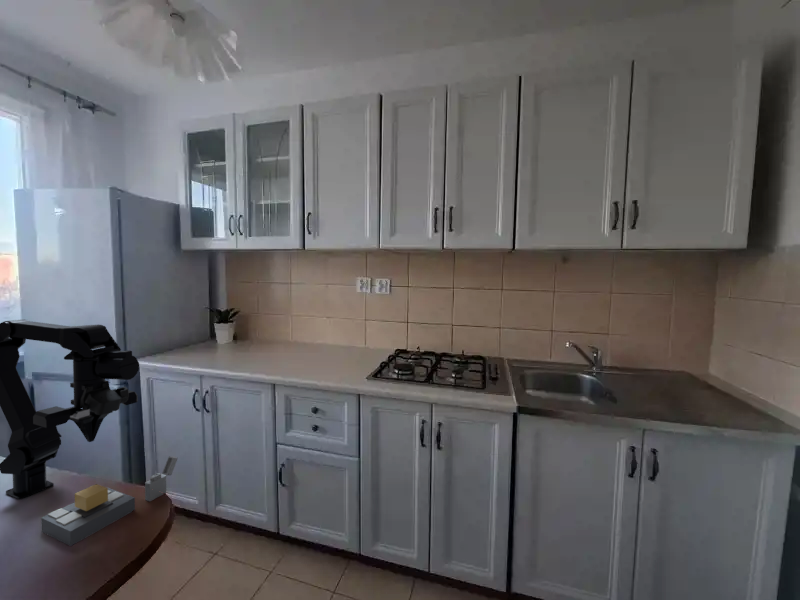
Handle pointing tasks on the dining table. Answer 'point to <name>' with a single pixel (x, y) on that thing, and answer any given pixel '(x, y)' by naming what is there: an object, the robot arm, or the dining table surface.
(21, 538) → the dining table surface
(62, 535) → the keypad
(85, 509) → the key
